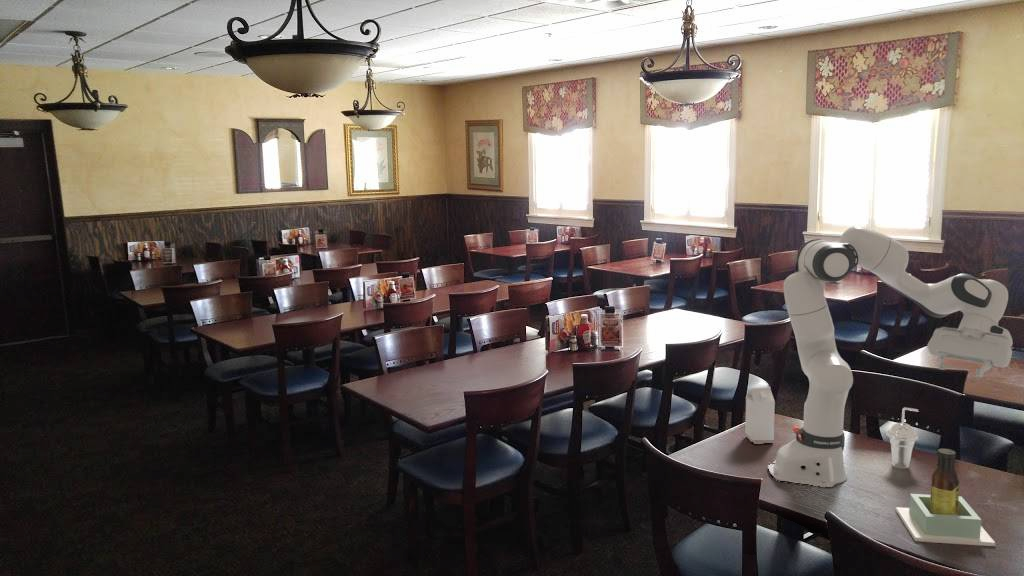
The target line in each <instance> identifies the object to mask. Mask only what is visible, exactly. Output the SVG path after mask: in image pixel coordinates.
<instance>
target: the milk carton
mask: <svg viewBox="0 0 1024 576" xmlns="http://www.w3.org/2000/svg"><path fill="white" fill-rule="evenodd" d="M771 388H772V387H771V386H764V387H763V386H761V387H750V389H749V390H750V391H749V392H748V393H747V395H746V396H745V429H744V431H745V433H746V434H747V435H748V436H749V437H750V438H751V439H752V440H774V439H775V416H776V415H775V409H776V408H775V407H776V406H775V405H776V401H775V399H774V395H773V393H772V389H771ZM745 433H744V434H745ZM774 441H775V440H774Z"/></svg>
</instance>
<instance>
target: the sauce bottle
mask: <svg viewBox="0 0 1024 576" xmlns="http://www.w3.org/2000/svg"><path fill="white" fill-rule="evenodd" d="M956 458H957V453H956V451H955V450H953V449H951V448H939V449H937V464H936V466H937V467H936V468H935V469H934V471H933V472H932V475H931V483H930V494H929V495H930V514H940V515H957V516H958V499H959V496H960V494H959V492H960V480H959V477H958V474H957V471H956V467H955V463H956V462H955V461H956Z"/></svg>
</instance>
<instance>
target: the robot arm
mask: <svg viewBox="0 0 1024 576" xmlns="http://www.w3.org/2000/svg"><path fill="white" fill-rule="evenodd" d="M796 257H797V259H796V263H795V267H794V270H795V272H794V273H791V274H789V275H788V276H787V277H786V278H785V279H784V281H783V295H784V296H783V297H784V302H785V307H786V311H787V315H788V318H789V321H790V325H791V327H792V330H793V333H794V337H795V342H796V347H797V353H798V357H799V361H800V366H801V370H802V372H803V373H804V375H805V376H807V378H808V382H809V388H808V392H807V393H808V394H807V397H806V400H805V402H804V404H803V406H804V407H803V426H802V427H801V428H800V427H799V426H798V425H793V427H792V432H793V433H794V434H795V439H793V440H791V441H790V442H788V443H786V444H785V445H782V446H781V447H779V448H778V449H777V452H776V456H775V459H774V460H775V461H774V462H773V463H775V464H770V465H768V464H767V470H768V469H769V471H770V473H771V474H772V475H773V476H774V477H775V478H777V479H780V480H785V481H792V482H798V483H803V484H809V485H808V486H810V485H813V486H812V487H818V486H820V488H825V487H831V488H833V486H835V485H838V484H842V483H844V482H845V481H846V480H847V479H848V476H847V472H846V471H847V470H846V469H845V468H846V467H845V462H844V449H845V442H846V440H845V438H846V436H845V432H844V418H845V416H844V415H845V408H846V407H845V406H846V402H847V399H848V395H849V392H850V390H851V388H852V386H853V384H854V376H853V372H852V370H851V367H850V364H848V362H846V361H845V360H844V359H843V358H842V357H841V354H840V353H839V351H838V349H837V344H836V339H835V338H836V337H835V326H834V323H833V318H832V315H831V312H830V310H829V309H830V308H829V305H828V302H827V299H826V296H825V294H824V293H825V291H824V290H825V284H826V282H827V283H828V282H829V283H834V282H839V281H841V280H844V279H845V278H846V277H848V276H849V274H850V273H851V272H852V270H854V268H855V267H857V266H858V267H860V268H862V269H864V270H865V271H868V272H870V273H873V274H874V275H876V277H877V278H878V279H879V280H880V281H881V282H882V283H883V284H884V285H886V286H887V287H888V288H890V289H892V290H894V291H895V292H897V293H898V294H900V295H902V296H904V297H905V298H907V299H908V300H910V301H911V302H913V303H915V304H916V305H917V306H918V307H919V308H920V309H921V310H922V311H923V312H924V313H925V314H927V315H928V316H929V317H933V318H938V319H942V318H944V317H947V316H950V315H952V314H954V313H956V312H959V311H960V312H961V313H962V315H963V317H962V319H961V320H960V323H959V324H958V327H957V328H956V327H947V326H940V327H937V328H935V330H934V331H933V334H932V336H931V338H930V340H929V341H928V343H927V344H926V347H927V348H926V349H927V351H928V352H929V354H930V355H931V356H937V357H938V361H939V362H938V364H937V368H938V370H942V371H945V370H946V368H947V364H946V361H944V360H946V359H953V360H959V361H964V362H968V363H974V364H979V365H980V364H981V365H982V367H980V368H978V367H976V368H975V371H974V375H975V377H978V378H983V376H984V374H985V373H986V372H988V371H990V370H991V369H992V367H996V368H1002V369H1003V368H1007V367H1009V365H1010V362H1011V359H1012V355H1013V350H1012V346H1013V344H1014V343H1013V337H1012V335H1011V333H1010V331H1009V330H1008V329H1006V328H1005V327H1002V326H999V321H1001V319H1002V318H1003V316H1004V313H1005V311H1006V309H1007V307H1008V306H1007V305H1008V301H1009V290H1008V288H1007V287H1006V285H1004V284H1003V283H1001V282H999V281H997V280H994V279H979V278H977V277H975V276H974V275H972V274H968V273H959V274H957V275H953V276H950V277H948V278H946V279H944V280H941V281H939V282H936V283H925V282H923V281H921V280H920V279H918V278H917V277H915V276H914V275H912V274H910V273H908V272H907V271H906V269H907V268H908V265H909V259H910V254H909V251H908V248H907V247H906V246H905V245H904V244H903V243H901V242H900V241H898V240H896V239H894V238H893V237H890V236H888V235H886V234H883V233H881V232H879V231H876V230H874V229H870V228H867V227H863V226H860V225H859V226H856V225H855V226H851V227H849V228H847V229H846V230H845V231H844V232H843V233H842V234H841V236H840V238H839V239H838V240H837V241H834V242H833V241H828V240H824V239H821V238H820V239H819V238H816V239H811V240H808V241H807V242H804V243H803V244H802V245H801V246H800V248H799V250H798V252H797V256H796ZM775 474H776V475H775Z"/></svg>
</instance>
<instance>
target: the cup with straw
mask: <svg viewBox="0 0 1024 576" xmlns="http://www.w3.org/2000/svg"><path fill="white" fill-rule="evenodd" d="M905 411H911V412H916V413H917V412H918V413H919V412H920V409H917V408H912V407H903V408H902V411H901V422H897V423H895V424H893V425H892V426H891V428H890V429H888V431H887V433H886V435H887V437H889V443H890V449H891V452H890V453H891V462H892V466H893V467H894V468H897V469H900V470H901V469H902V470H903V469H904V470H905V469H906V468H907V469H909V468H910V467H909V465H910V462H911V458H912V454H913V453H912V452H913V448H914V445H915V443H916V442H915V441H917V440H919V437H918V433H916V432H915V429H914V428H913V427H912V426H911V424H908V423H906V422H905V413H906V412H905ZM908 467H909V468H908Z"/></svg>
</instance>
